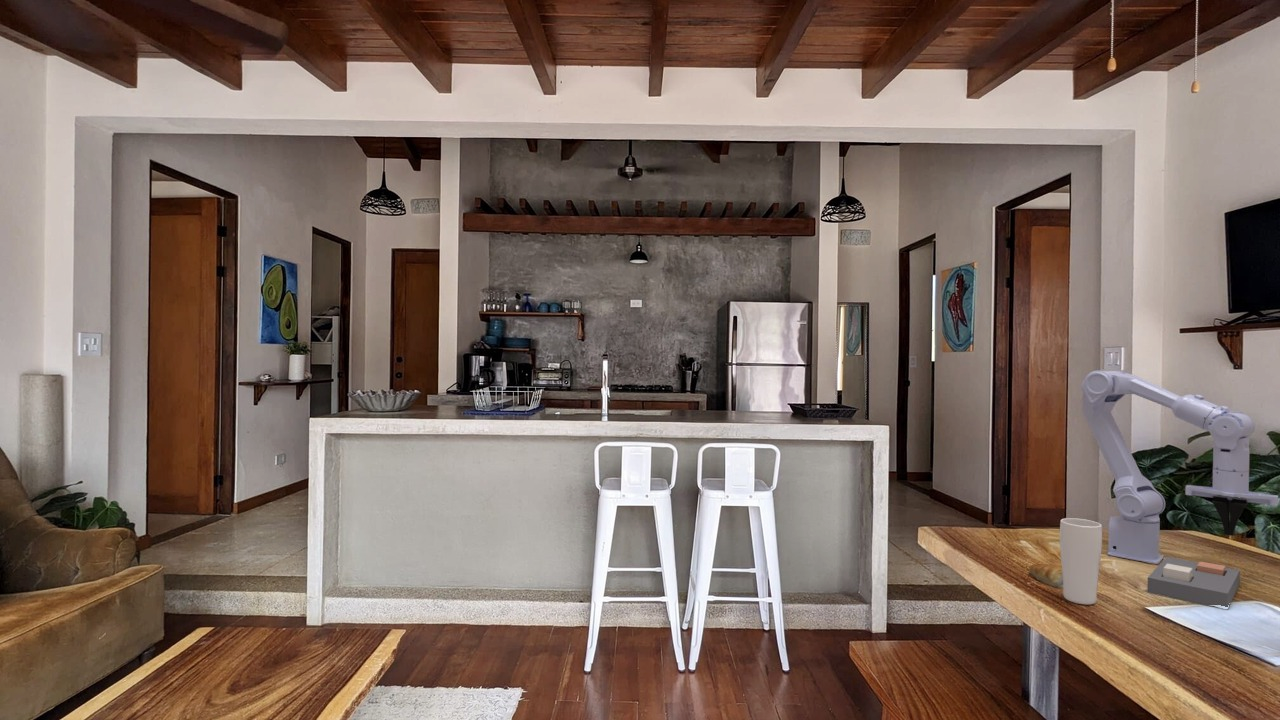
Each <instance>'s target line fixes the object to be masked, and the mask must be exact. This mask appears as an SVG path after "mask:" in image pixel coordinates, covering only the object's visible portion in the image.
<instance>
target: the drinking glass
mask: <svg viewBox="0 0 1280 720" xmlns="http://www.w3.org/2000/svg"><path fill="white" fill-rule="evenodd" d="M1059 547H1060V560H1061V561H1060V562H1061V566H1062V575H1063V588H1062V595H1063V597H1064V598H1065V599H1066V600H1067V601H1069V602H1071V603H1074V604H1079V605H1094V604H1096V602H1097V600H1098V599H1097V595H1098V594H1097V591H1098V582H1099V573H1100V567H1101V557H1102V548H1103V525H1102V524H1101V523H1099V522H1097V521H1094V520H1089V519H1085V518H1077V517H1076V518H1073V517H1072V518H1071V517H1065V518H1062V519H1060V523H1059Z"/></svg>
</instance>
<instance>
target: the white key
mask: <svg viewBox="0 0 1280 720" xmlns="http://www.w3.org/2000/svg"><path fill="white" fill-rule="evenodd" d="M1163 577H1166V578H1171V579H1176V580H1181V581H1186V582H1191V581H1192V568H1189V567H1183V566H1178V565H1173V564H1166V565H1165V567H1164V568H1163Z"/></svg>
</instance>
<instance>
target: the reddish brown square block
mask: <svg viewBox="0 0 1280 720" xmlns="http://www.w3.org/2000/svg"><path fill="white" fill-rule="evenodd" d="M1198 562H1199V564H1198V565H1197V571H1201V572H1206V573H1212V574H1217V575H1222V576H1225V567H1226V565H1223V564H1216V563H1210V562H1204V561H1198Z"/></svg>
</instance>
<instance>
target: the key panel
mask: <svg viewBox="0 0 1280 720" xmlns="http://www.w3.org/2000/svg"><path fill="white" fill-rule="evenodd" d="M1199 562H1200V561H1198V562H1197V561H1193V560H1186V559H1182V558H1176V557H1169V556H1166V557H1165V558H1163V559H1162V560H1161V561H1160V562H1159V563H1160V564H1159V563H1158V565H1157V566H1156V568H1155V569H1154V570H1153V571H1152V572H1150V574H1149V575H1148V577H1147V588H1146V589H1147V590H1146V591H1147V594H1148V593H1149V594H1153V595H1157V596H1162V597H1165V598H1166V597H1167V598H1170V599H1176V600H1181V601H1185V602H1189V603H1194V604H1198V605H1203V606H1208V605H1221V606H1225V607H1228V605H1229V603H1232V602H1233V599H1234V597H1235V595H1236V592H1237V591H1238V589H1239V586H1240V581H1241V569H1238V568H1237V569H1236V568H1233V567H1232V568H1231V567H1226V566H1225V576H1222V575H1217V574H1212V573H1206V572H1201V571H1197V565H1198V564H1199ZM1166 564H1173V565H1178V566H1183V567H1189V568H1192V581H1191V582H1186V581H1181V580H1176V579H1171V578H1166V577H1163V568H1164V567H1165V565H1166Z"/></svg>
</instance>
